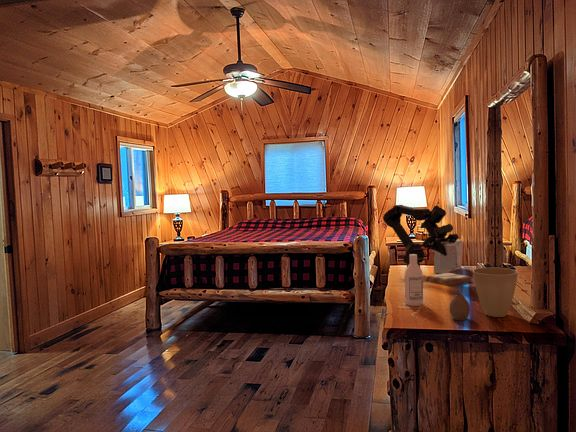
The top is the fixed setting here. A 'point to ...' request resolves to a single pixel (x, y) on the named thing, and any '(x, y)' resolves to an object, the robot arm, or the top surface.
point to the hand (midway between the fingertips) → (450, 254)
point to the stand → (449, 279)
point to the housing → (448, 256)
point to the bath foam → (413, 283)
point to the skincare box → (458, 259)
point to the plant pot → (495, 289)
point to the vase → (459, 307)
